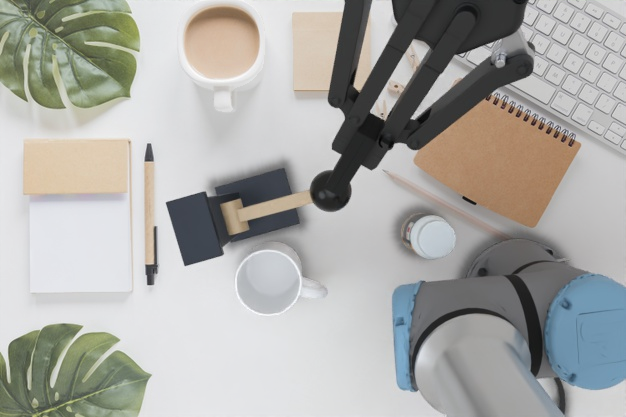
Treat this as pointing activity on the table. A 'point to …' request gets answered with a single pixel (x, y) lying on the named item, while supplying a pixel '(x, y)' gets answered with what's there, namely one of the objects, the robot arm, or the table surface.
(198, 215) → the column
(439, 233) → the pill bottle
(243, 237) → the footplate
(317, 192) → the lever
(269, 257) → the mug
